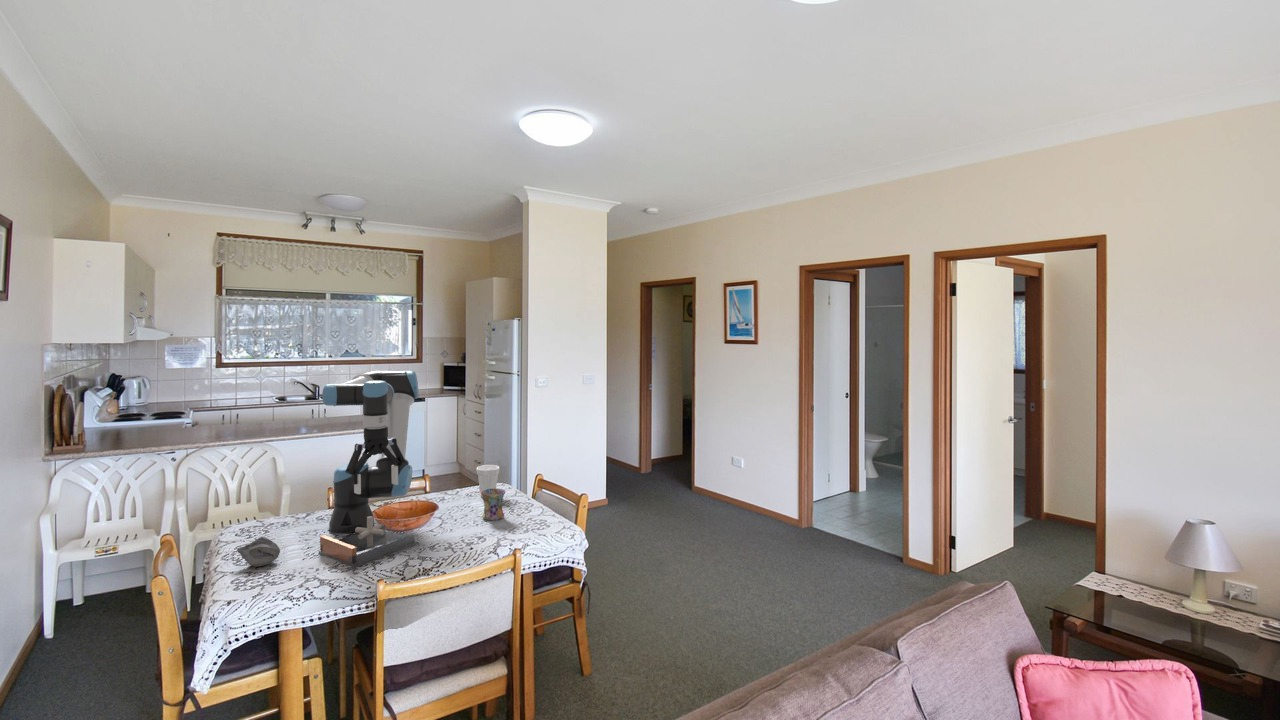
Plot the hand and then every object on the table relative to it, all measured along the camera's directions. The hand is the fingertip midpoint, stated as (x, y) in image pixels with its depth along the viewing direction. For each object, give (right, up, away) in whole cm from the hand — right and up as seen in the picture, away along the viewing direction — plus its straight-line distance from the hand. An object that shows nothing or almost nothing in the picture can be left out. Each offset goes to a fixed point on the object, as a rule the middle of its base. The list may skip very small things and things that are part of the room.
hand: (376, 488), depth 200 cm
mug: (+30, -19, +34) cm, 50 cm away
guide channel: (-2, -21, 0) cm, 21 cm away
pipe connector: (-2, -20, 0) cm, 20 cm away
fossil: (-31, -21, -13) cm, 40 cm away
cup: (+22, -17, +60) cm, 67 cm away
